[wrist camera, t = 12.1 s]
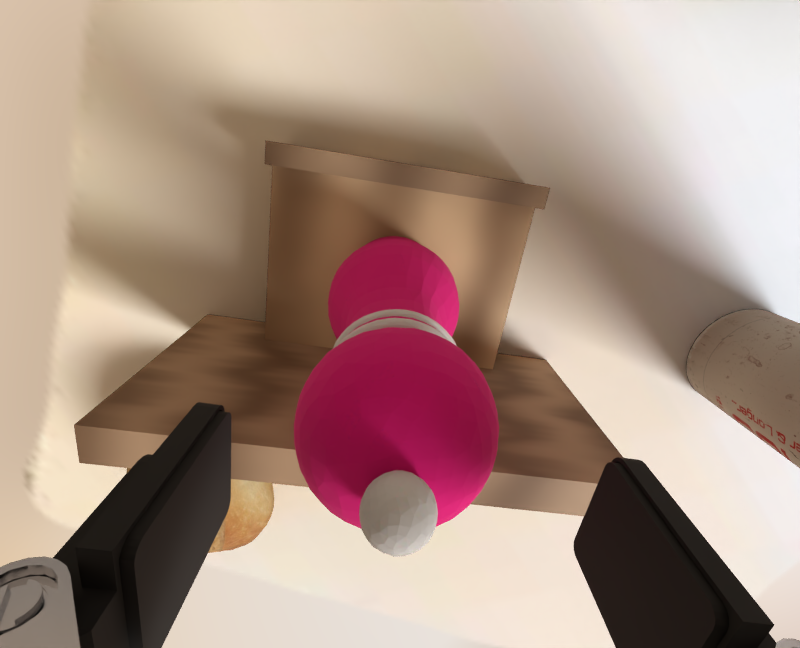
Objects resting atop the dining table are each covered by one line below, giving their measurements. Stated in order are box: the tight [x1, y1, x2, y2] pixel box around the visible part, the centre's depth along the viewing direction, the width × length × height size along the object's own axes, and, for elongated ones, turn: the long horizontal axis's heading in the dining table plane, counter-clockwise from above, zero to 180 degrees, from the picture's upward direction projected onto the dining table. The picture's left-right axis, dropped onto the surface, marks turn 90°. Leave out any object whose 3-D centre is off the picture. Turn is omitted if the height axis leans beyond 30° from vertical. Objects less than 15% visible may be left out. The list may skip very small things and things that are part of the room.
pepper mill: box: [294, 236, 499, 556], centre depth 18 cm, size 7×7×20 cm
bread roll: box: [127, 468, 274, 553], centre depth 31 cm, size 10×15×8 cm, turn 8°
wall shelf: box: [74, 141, 623, 516], centre depth 24 cm, size 26×14×14 cm, turn 81°
